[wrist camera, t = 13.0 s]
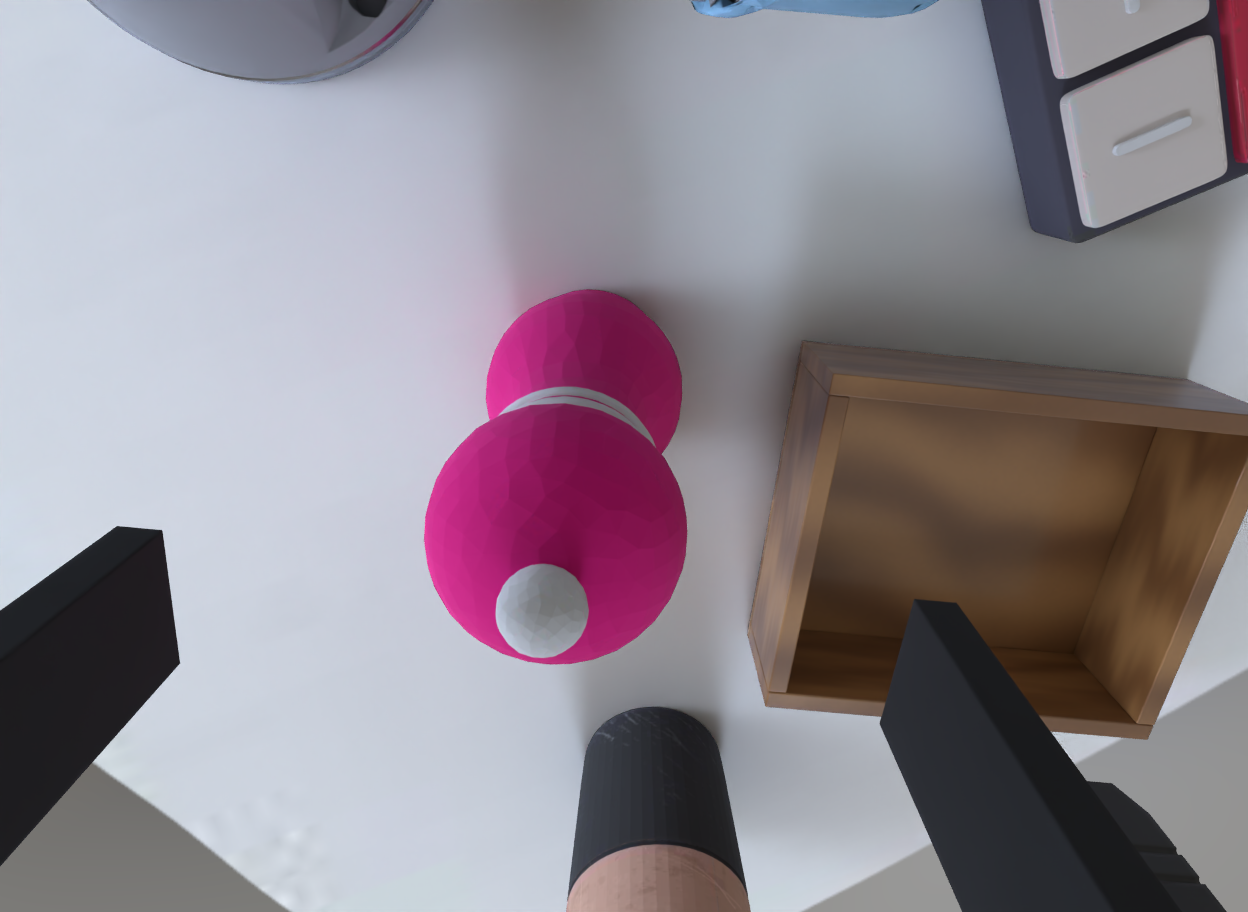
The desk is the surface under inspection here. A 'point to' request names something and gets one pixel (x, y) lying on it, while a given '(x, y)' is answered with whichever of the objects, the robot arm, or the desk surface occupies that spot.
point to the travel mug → (655, 820)
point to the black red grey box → (1120, 105)
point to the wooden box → (995, 528)
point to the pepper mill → (565, 487)
